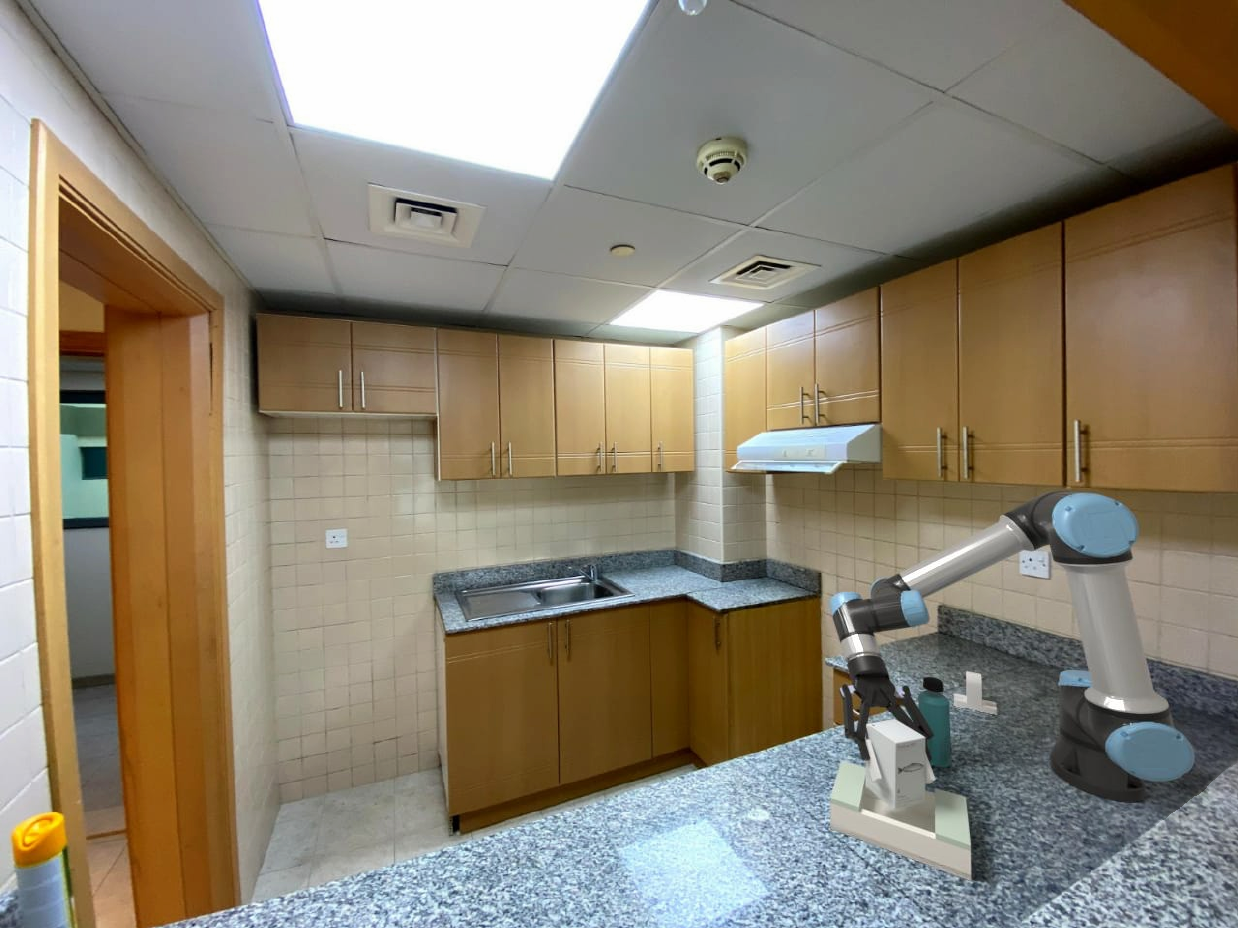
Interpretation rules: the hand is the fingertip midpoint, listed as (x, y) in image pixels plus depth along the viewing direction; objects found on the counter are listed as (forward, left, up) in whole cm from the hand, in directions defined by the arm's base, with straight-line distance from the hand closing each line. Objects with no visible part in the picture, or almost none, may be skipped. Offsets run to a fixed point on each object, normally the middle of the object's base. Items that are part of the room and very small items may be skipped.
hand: (903, 780), depth 90 cm
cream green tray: (+1, -3, -11) cm, 12 cm away
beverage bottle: (-5, -30, -11) cm, 32 cm away
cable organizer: (-15, -68, -11) cm, 70 cm away
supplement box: (+2, -3, -5) cm, 6 cm away
